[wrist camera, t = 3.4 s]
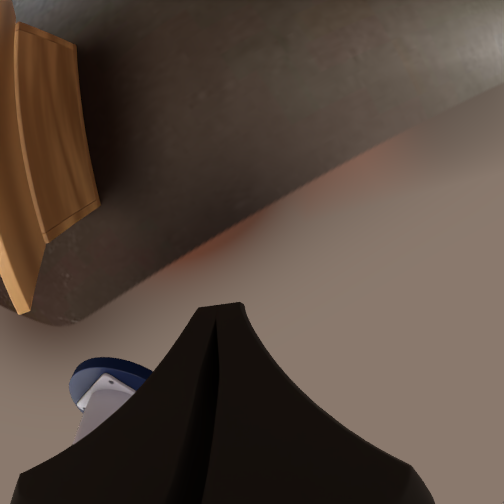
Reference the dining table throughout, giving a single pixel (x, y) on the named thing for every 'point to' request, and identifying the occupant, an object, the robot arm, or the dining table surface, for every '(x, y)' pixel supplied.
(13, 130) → the flap
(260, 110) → the dining table surface
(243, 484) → the robot arm
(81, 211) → the wooden box
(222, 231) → the dining table surface
